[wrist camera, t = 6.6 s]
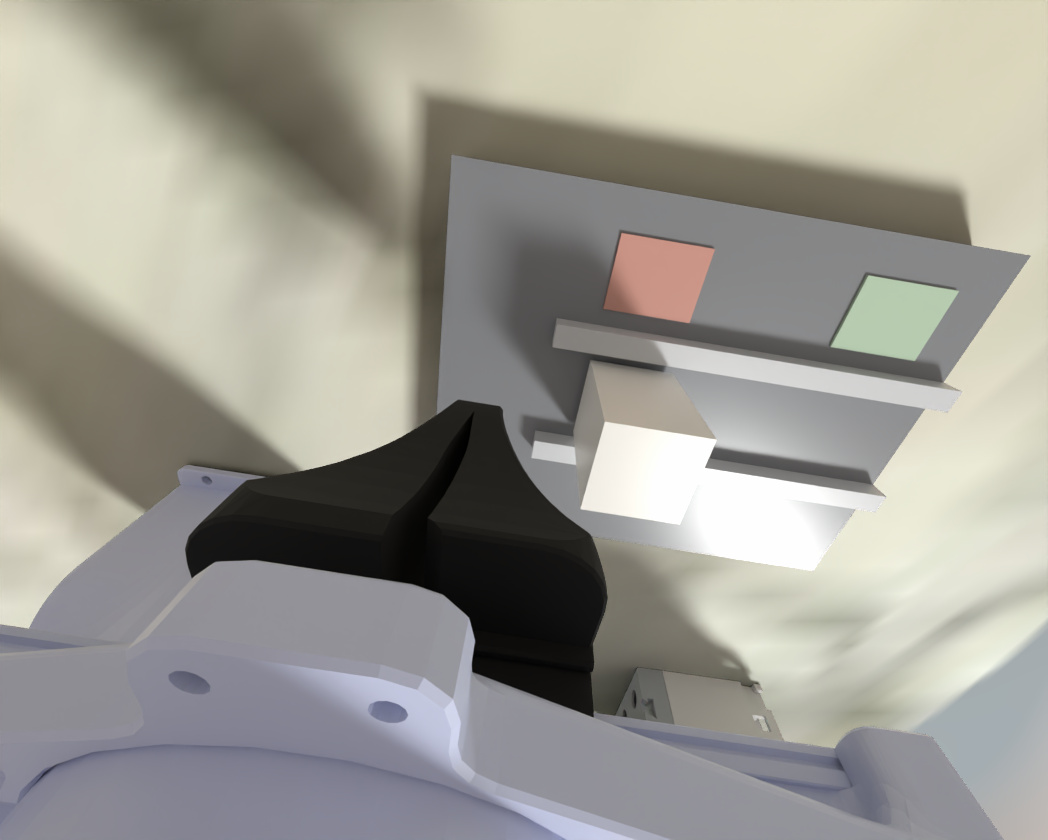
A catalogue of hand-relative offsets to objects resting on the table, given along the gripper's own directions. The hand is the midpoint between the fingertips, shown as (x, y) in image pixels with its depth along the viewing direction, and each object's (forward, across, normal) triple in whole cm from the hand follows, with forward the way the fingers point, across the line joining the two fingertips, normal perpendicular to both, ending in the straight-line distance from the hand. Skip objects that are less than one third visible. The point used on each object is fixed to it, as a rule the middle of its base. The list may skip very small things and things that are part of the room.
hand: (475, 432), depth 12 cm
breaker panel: (+6, -7, 0) cm, 9 cm away
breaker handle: (+4, -5, 0) cm, 6 cm away
